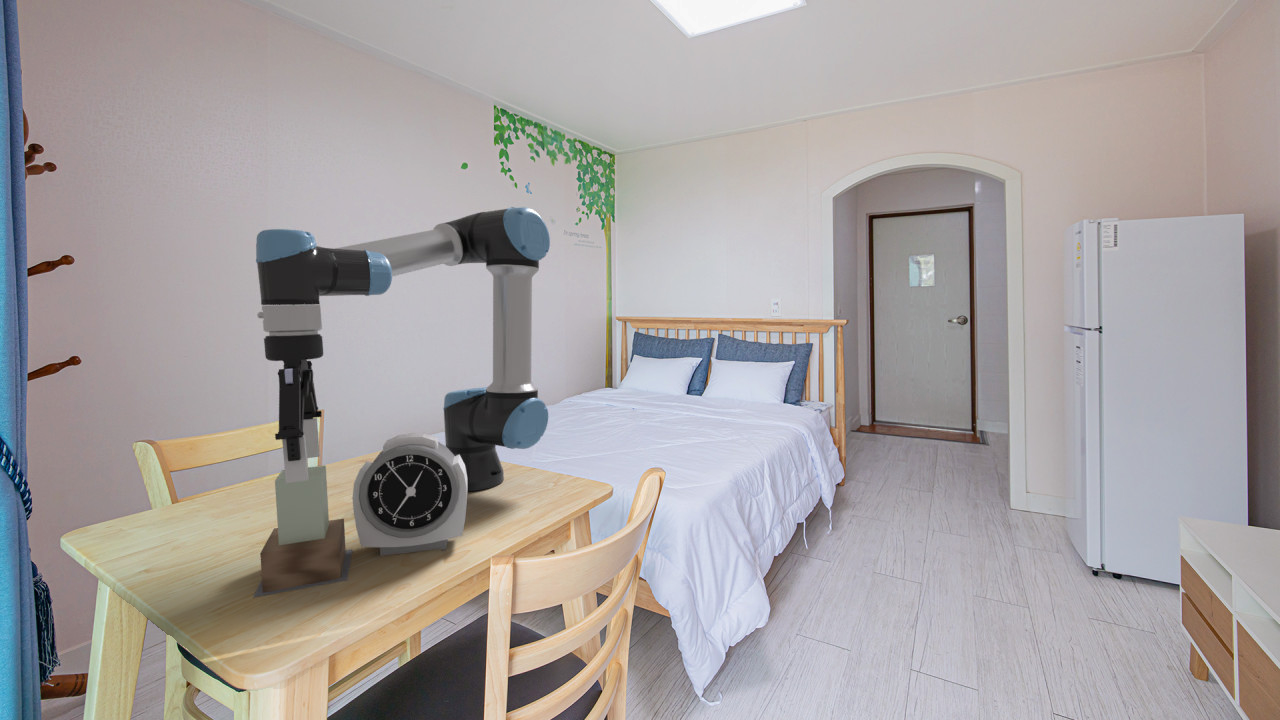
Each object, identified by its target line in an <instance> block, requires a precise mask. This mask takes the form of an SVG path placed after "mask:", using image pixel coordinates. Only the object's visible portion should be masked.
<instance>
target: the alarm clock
mask: <svg viewBox="0 0 1280 720" xmlns="http://www.w3.org/2000/svg"><path fill="white" fill-rule="evenodd" d="M351 497H352V508H353V509H352V510H353V517H354V523H355V528H356V533H357V537H358V541H359V544H360V548H362V547H363V548H379V553H380V554H379V555H380V557H382V556H390V555H398V554H407V553H415V552H423V551H432V550H437V549H438V550H441V551H446V550H447V546H448V541H449V540H450V539H454V538H458V537H461V536H463V533H464V527H465V521H466V514H467V501H468V491H467V473H466V467H465V464H464V462H463V460H462V458H461V456H460V454H459V455H457V456H454V454H453V453H452V452H451V451H450V450H449V449H448V448H447V447H446V445H444V444H442V443H441V442H440V441H439V438H438V437H437V436H434V435H432V434H428V433H424V432H423V433H421V432H420V433H416V432H415V433H412V432H411V433H406V434H398V435H396V436H393V437H392V438H389V439H387V440H386V441H385V443H384V444H383V446H382V450H381V451H380V452H379V454H378V455H377V456H376V457H375V459H374V460H373V462H372V461H368V460H367V461H365V463H364V464H363V465H362V466H361V468H360V469H359V471H358V473H357V475H356V478H355V480H354V482H353V489H352V496H351Z"/></svg>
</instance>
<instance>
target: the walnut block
mask: <svg viewBox="0 0 1280 720" xmlns="http://www.w3.org/2000/svg"><path fill="white" fill-rule="evenodd" d="M345 531H346V530H345V518H338V519H331V520H330V519H329V526H328V530H327V533H326V536H325V538H324V539H317V540H311V541H304V542H298V543H291V544H285V545H279V538H278V527H275V528H273V529H272V531H271V533H270V535H269V537H268V538H267V541H266V542H265V544H264V545H263V547H262V549H261V550H260V572H261V580H262V587H263V593H264V592H269V591H274V590H280V589H285V588H291V587H296V586H302V585H307V584H313V583H318V582H323V581H329V580H334V579H340V578H341V574H342V569H343V564H344V559H345V553H346V550H347V549H346V534H345V533H346V532H345Z"/></svg>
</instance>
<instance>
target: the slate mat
mask: <svg viewBox="0 0 1280 720" xmlns="http://www.w3.org/2000/svg"><path fill="white" fill-rule="evenodd" d="M352 555H353V548H350V549H346V553H345V559H344V564H343V569H342V574H341V578H340V579H334V580H329V581H323V582H318V583H313V584H307V585H302V586H296V587H291V588H285V589H280V590H274V591H269V592H264V593H263V587H262V579H261V581H260V582H259V584H258V587H257V589H256V591H255V592H254V595H253V597H252V598H253V599H254V598H259V597H263V596H265V597H266V596H268V595H274V594H275V595H276V594H279V593H285V592H286V593H287V592H291V591H296V590H303V589H307V588H312V587H319V586H323V585H328V584H335V583H340V582H345V581H348V579H349V572H350V567H351V561H352Z"/></svg>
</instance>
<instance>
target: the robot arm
mask: <svg viewBox="0 0 1280 720" xmlns="http://www.w3.org/2000/svg"><path fill="white" fill-rule="evenodd" d="M550 239H551V237H550V232H549V229H548V227H547V224H546V222H545V221H544V220H543V218H542V217H541V215H540V214H539V213H538V212H537V211H535V210H534V209H532V208H529V207H525V206H524V207H522V206H521V207H515V206H511V207H508V208H504V209H495V210H491V211H490V210H488V211H482V212H481V211H480V212H476V213H473V214H469V215H466V216H464V217H461V218H458V219H454V220H451V221H447V222H441V223H438V224H436V225H435V226H434V227H433V229H431V230H430V229H429V230H426V231H420V232H414V233H409V234H405V235H404V234H403V235H398V236H393V237H389V238H382V239H378V240H373V241H367V242H363V243H357V244H351V245H347V246H345V245H344V246H342V247H335V248H333V247H332V248H331V247H321V246H318V245H317V244H318V243H317V242H316V238H315V235H314V234H313V233H311V232H308V231H303V230H299V229H289V228H281V229H280V228H276V229H275V228H272V229H270V228H269V229H264V230H261V231H260V232H259V233H258V234H257V235H256V244H255V245H256V246H255V249H256V250H255V251H256V252H255V254H256V259H255V263H256V265H257V273H258V283H259V293H260V304H261V311H259V312H257V318H258V319H263V320H262V327H263V331H264V332H265V333H268V335H266V336H265V337H264V338H263V342H264V343H263V344H264V355H265V359H266V360H268V361H272V362H279V361H280V362H281V361H282V362H283V368H282V369H281V368H279V369H278V371H277V375H278V383H279V386H278V393H279V395H278V397H279V398H278V431H277V433H274V438H275V440H276V441H278V440H279V441H281V442H282V453H283V464H284V465H283V466H284V470H285V478H286V483H291V482H299V481H307V480H308V467H309V466H308V459H313V458H319V457H320V456H321V453H320V452H321V451H320V441H319V428H318V418H322V410H319V407H318V404H317V403H318V402H317V397H316V389H315V383H314V371H313V368H312V366H313V363H312V361H311V360H316V359H320V358H322V357H323V356H324V344H323V343H324V342H323V336H322V334H319V332H318V331H321V330H322V329H323V324H322V312H321V309H322V308H321V305H320V302H321V301H320V297H323V296H324V297H331V296H332V297H333V296H335V297H336V296H337V297H339V296H366V297H370V296H379V295H380V296H381V295H383V294H385V293H386V292H387V291H388V290H389V289H390V287H391V284H392V281H393V277H397V276H399V275H403V274H408V273H412V272H416V271H419V270H423V269H427V268H432V267H436V266H440V265H443V264H444V265H446V266H449V267H453V266H454V267H455V266H457V265H463V264H485V267H486V270H487V271H488V272H490V274H491V275H492V279H493V280H492V281H493V282H492V283H493V284H492V382H491V383H490V384H489V385H488V386H484V387H476V388H467V389H460V390H454V391H450V392H447V393H446V394H445V396H444V403H443V421H444V440H445V446H446V447H447V448H448V449H449V450H450V451H451V452H452V453H453V454H454V456H457V455H459V454H460V456H461V458H462V460H463V462H464V464H465V467H466V473H467V492H474V491H481V490H486V489H490V488H492V487H495V486H498V485H500V484H501V483H503V481H504V480H505V479H504V476H505V475H504V473H505V472H504V468H503V466H502V463H501V459H500V456H499V454H498V451H497V448H496V446H497V447H505V448H507V449H511V450H513V449H514V450H515V449H516V450H517V449H519V450H525V449H529V448H531V447H533V446H535V445H536V444H537V443H538V442H539V441H540V440H541V438H542V437H543V436H544V434H545V432H546V430H547V427H548V422H549V410H548V407H547V406H546V404H545V402H544V401H543V400H541V398H539V396H538V395H539V392H538V391H539V389H538V387H537V386H536V385H535V384H534V383H533V382H532V337H533V336H532V329H533V327H532V325H533V323H532V318H533V317H532V312H533V311H532V310H533V306H532V304H533V301H532V300H533V289H532V288H533V277H534V276H535V275H536V274H537V273H538V271H539V270H540V261H541V260H542V259H544V258H546V256H547V253H549V250H550V246H551V240H550Z"/></svg>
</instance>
